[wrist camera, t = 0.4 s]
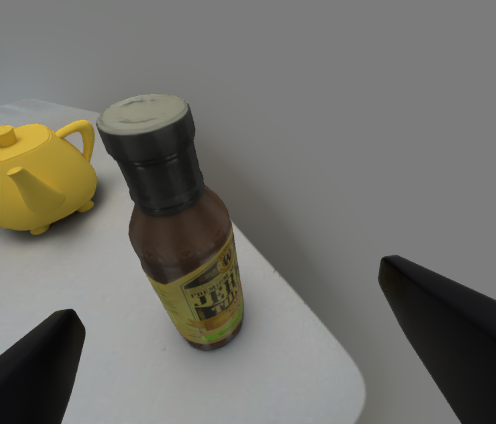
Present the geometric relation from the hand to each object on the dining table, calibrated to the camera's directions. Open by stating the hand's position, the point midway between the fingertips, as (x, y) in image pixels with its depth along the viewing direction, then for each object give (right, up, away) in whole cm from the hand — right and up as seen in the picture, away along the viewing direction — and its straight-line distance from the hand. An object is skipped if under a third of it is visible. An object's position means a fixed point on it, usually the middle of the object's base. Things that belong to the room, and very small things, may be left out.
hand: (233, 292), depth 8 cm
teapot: (-25, +2, +30) cm, 39 cm away
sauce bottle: (-3, -8, +18) cm, 19 cm away
